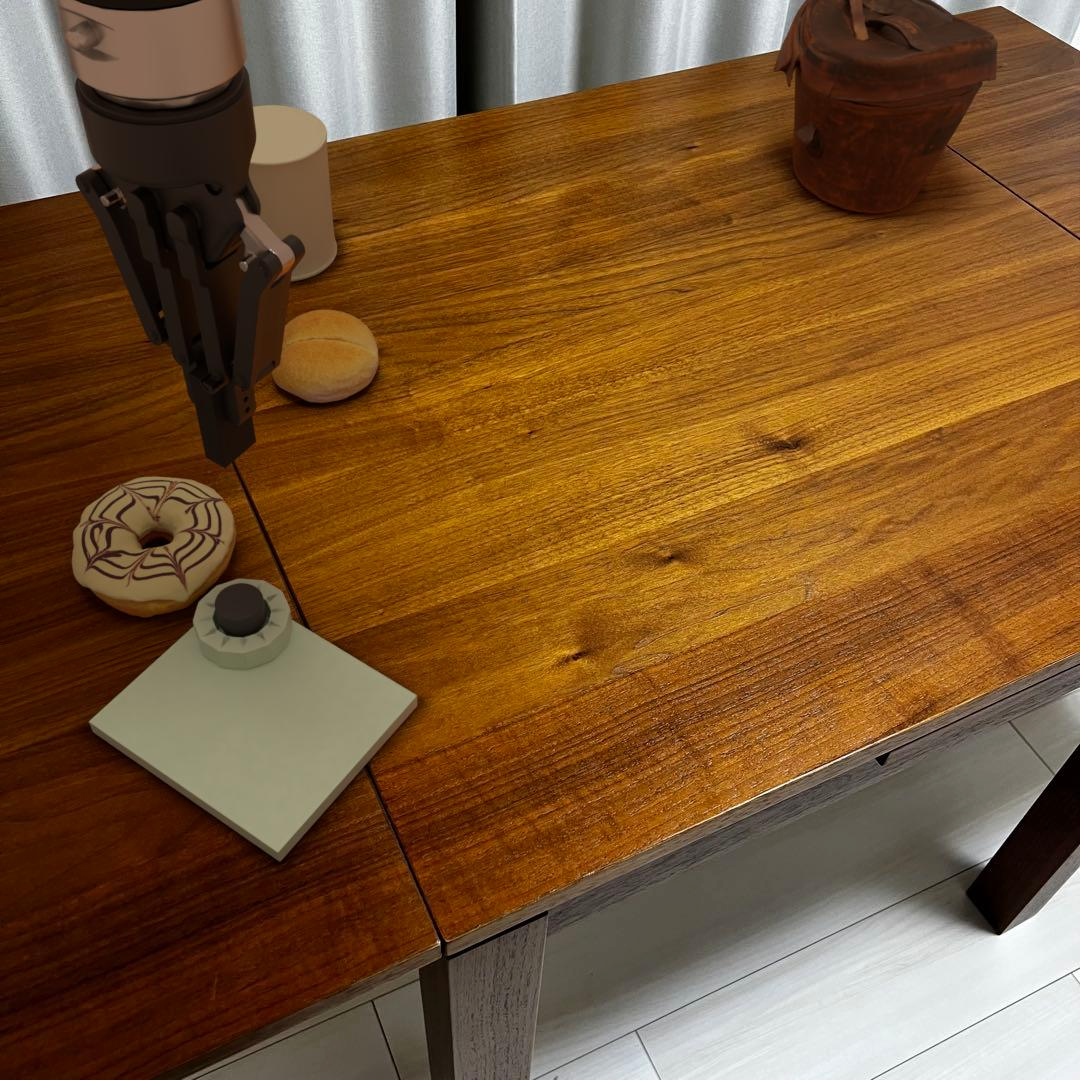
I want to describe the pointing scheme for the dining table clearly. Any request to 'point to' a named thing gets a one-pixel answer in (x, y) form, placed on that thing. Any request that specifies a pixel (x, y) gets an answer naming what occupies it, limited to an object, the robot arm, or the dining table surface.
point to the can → (294, 182)
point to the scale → (256, 721)
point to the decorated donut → (162, 572)
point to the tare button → (240, 609)
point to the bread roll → (326, 356)
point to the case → (879, 95)
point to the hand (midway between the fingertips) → (231, 449)
